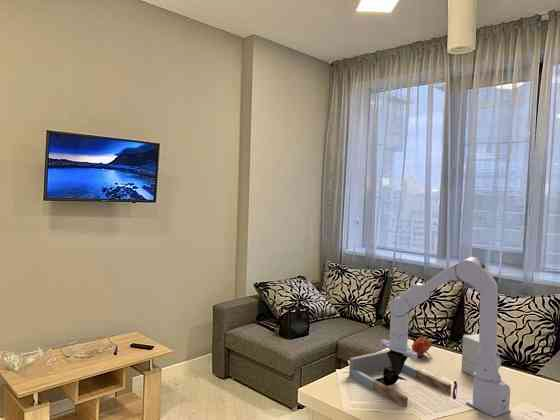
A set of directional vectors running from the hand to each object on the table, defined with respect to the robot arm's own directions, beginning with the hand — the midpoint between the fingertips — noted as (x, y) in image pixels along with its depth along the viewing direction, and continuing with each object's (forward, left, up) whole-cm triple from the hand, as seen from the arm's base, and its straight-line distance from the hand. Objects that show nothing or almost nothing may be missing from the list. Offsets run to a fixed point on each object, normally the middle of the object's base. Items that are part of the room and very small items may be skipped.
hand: (396, 373), depth 146 cm
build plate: (+2, 0, -4) cm, 4 cm away
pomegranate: (+13, -27, -3) cm, 30 cm away
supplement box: (-7, -32, -3) cm, 33 cm away
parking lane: (-1, 0, -3) cm, 3 cm away
